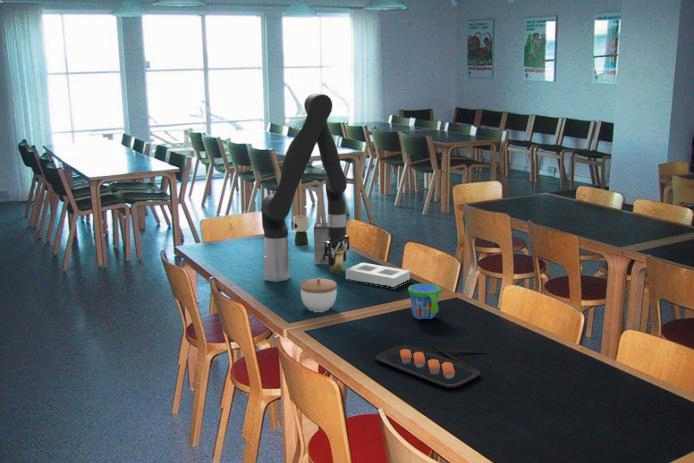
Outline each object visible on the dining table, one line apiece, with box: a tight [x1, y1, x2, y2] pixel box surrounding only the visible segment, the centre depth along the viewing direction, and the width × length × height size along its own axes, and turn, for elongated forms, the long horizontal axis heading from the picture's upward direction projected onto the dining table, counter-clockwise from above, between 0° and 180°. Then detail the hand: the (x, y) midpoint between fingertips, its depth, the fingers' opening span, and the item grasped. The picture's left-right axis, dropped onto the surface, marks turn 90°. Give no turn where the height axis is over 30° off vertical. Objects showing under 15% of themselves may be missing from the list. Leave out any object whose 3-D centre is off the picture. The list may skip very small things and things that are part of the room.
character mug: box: [292, 215, 310, 245], centre depth 338 cm, size 11×7×13 cm, turn 14°
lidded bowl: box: [299, 277, 338, 313], centre depth 249 cm, size 13×13×11 cm
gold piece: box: [330, 249, 344, 274], centre depth 294 cm, size 6×6×9 cm
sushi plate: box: [374, 344, 481, 389], centre depth 207 cm, size 29×30×4 cm
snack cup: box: [407, 283, 442, 320], centre depth 241 cm, size 16×10×10 cm
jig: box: [345, 262, 411, 287], centre depth 283 cm, size 12×22×4 cm, turn 56°
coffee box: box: [313, 222, 330, 265], centre depth 308 cm, size 9×6×16 cm
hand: (337, 263), depth 294 cm, fingers open, 8 cm apart
